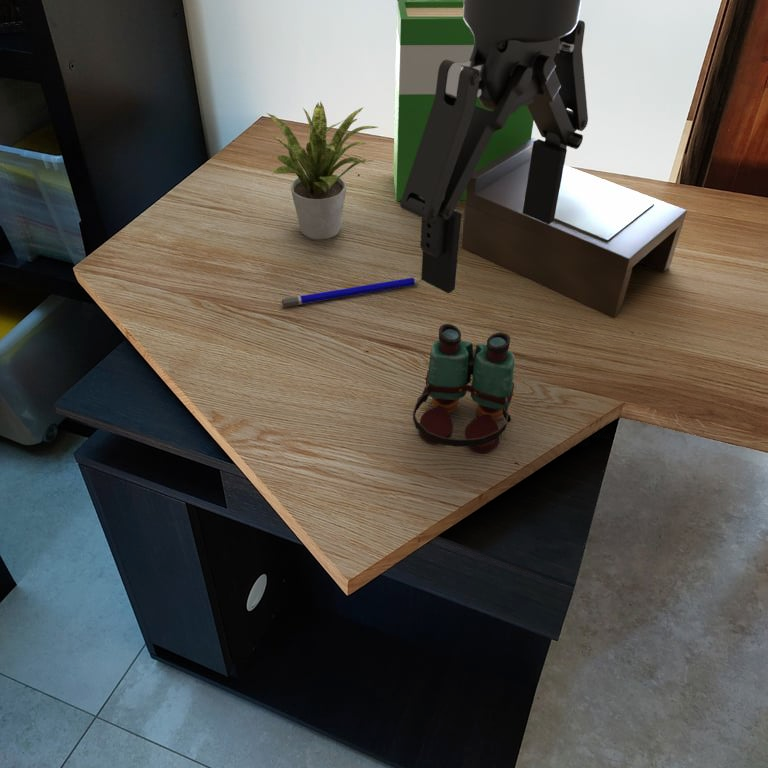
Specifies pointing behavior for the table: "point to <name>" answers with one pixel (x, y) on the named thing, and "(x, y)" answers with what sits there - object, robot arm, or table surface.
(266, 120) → the table surface
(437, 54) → the hardback book
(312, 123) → the house plant
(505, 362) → the binoculars
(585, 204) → the shelf
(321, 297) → the pencil
